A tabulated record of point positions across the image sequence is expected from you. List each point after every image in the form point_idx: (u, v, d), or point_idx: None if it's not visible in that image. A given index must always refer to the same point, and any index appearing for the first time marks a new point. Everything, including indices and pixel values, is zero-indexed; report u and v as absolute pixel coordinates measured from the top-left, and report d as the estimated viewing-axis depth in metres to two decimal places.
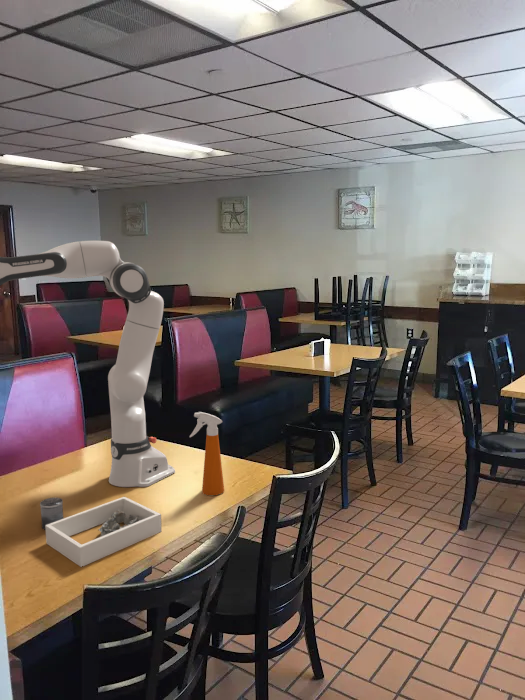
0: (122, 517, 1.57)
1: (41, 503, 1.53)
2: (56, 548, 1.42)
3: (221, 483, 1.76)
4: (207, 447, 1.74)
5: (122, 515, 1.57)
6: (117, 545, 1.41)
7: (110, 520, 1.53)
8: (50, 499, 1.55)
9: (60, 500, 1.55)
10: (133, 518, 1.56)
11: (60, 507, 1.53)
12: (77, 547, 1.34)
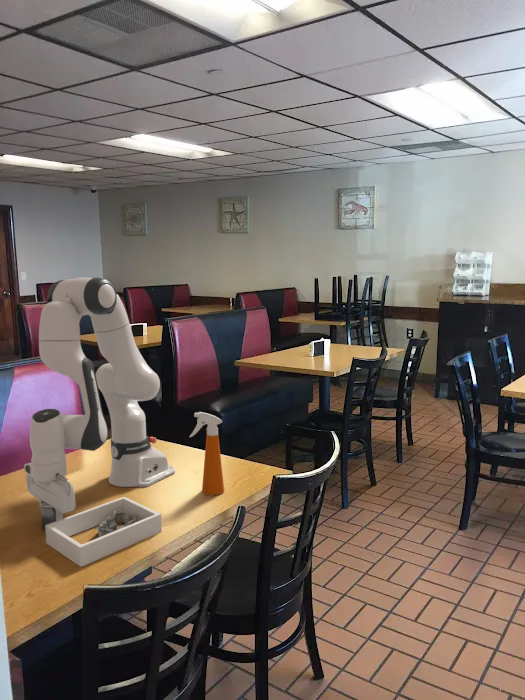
0: (122, 517, 1.57)
1: (41, 503, 1.53)
2: (56, 548, 1.42)
3: (221, 483, 1.76)
4: (207, 447, 1.74)
5: (122, 515, 1.57)
6: (117, 545, 1.41)
7: (109, 519, 1.53)
8: None
9: None
10: (133, 518, 1.56)
11: None
12: (77, 547, 1.34)
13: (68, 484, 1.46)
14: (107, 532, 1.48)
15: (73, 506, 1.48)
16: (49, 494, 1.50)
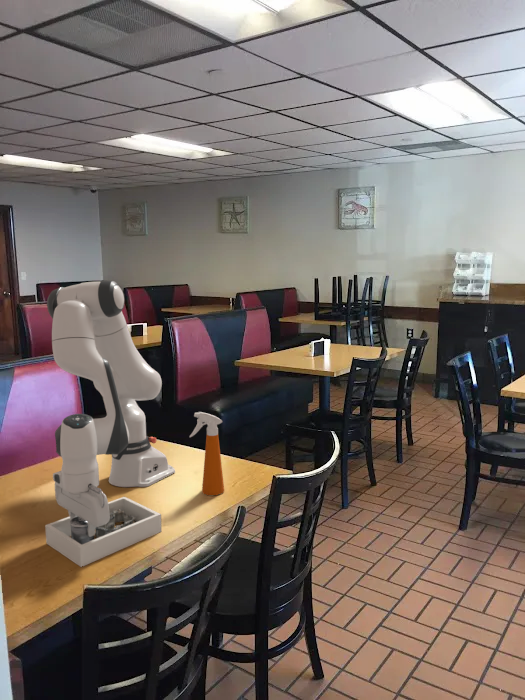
0: (123, 516, 1.57)
1: (71, 522, 1.42)
2: (56, 548, 1.42)
3: (221, 483, 1.76)
4: (207, 447, 1.74)
5: (123, 514, 1.57)
6: (117, 545, 1.41)
7: None
8: None
9: None
10: (132, 518, 1.56)
11: None
12: (77, 547, 1.34)
13: (102, 496, 1.35)
14: (104, 531, 1.49)
15: (107, 519, 1.37)
16: (81, 506, 1.39)
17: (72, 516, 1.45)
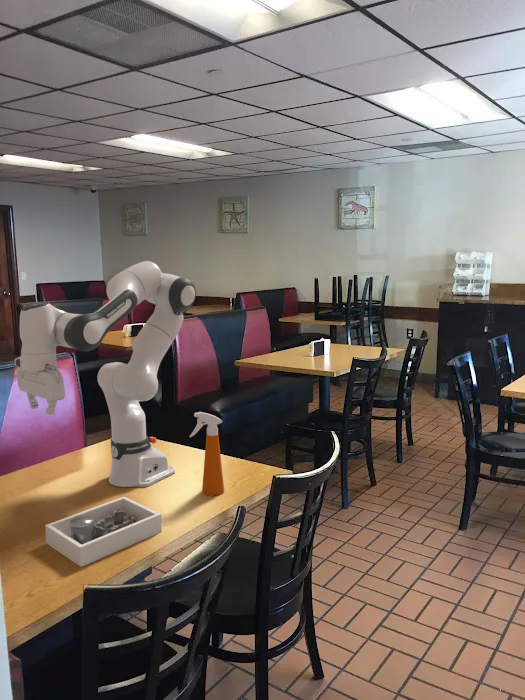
0: (123, 516, 1.58)
1: (71, 522, 1.42)
2: (56, 548, 1.42)
3: (221, 483, 1.76)
4: (207, 447, 1.74)
5: (123, 514, 1.57)
6: (117, 545, 1.41)
7: (108, 518, 1.54)
8: (81, 517, 1.44)
9: (91, 519, 1.44)
10: (131, 519, 1.56)
11: (91, 526, 1.42)
12: (77, 547, 1.34)
13: (57, 372, 1.47)
14: (101, 530, 1.49)
15: (62, 395, 1.49)
16: (39, 385, 1.51)
17: (30, 398, 1.58)
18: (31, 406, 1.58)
